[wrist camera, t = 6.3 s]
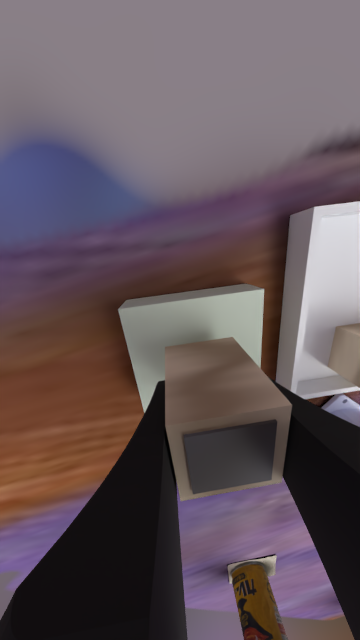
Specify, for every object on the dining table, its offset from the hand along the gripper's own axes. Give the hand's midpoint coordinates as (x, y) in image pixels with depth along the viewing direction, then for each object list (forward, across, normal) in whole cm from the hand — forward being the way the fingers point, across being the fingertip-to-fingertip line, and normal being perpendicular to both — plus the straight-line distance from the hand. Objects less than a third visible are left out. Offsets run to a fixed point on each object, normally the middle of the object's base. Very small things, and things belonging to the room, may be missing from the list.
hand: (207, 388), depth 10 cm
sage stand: (+5, 0, 0) cm, 5 cm away
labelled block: (+1, 0, 0) cm, 1 cm away
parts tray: (+5, -14, -2) cm, 15 cm away
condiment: (+5, -6, +46) cm, 46 cm away
